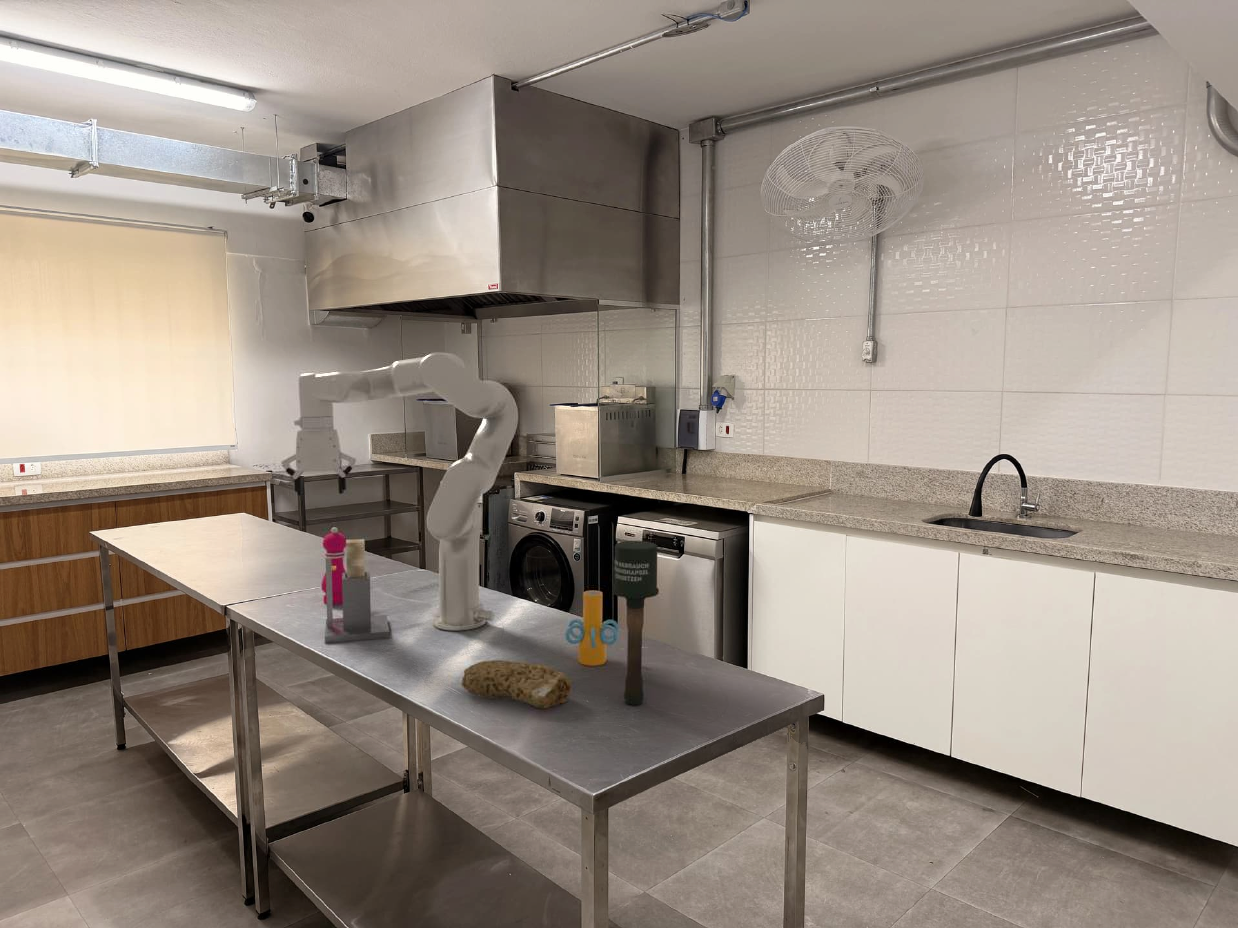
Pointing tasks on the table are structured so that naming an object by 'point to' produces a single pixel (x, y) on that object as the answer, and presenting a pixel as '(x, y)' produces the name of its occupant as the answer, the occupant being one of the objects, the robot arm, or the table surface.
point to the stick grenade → (635, 604)
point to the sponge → (517, 682)
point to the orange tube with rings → (592, 631)
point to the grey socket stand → (353, 611)
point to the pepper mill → (335, 564)
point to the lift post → (355, 558)
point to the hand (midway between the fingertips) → (320, 493)
